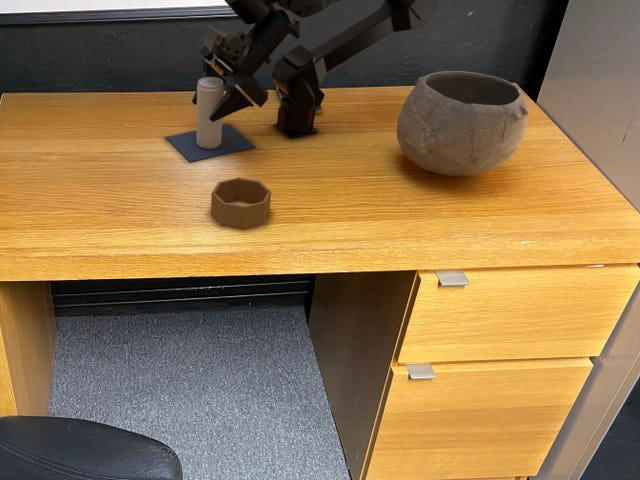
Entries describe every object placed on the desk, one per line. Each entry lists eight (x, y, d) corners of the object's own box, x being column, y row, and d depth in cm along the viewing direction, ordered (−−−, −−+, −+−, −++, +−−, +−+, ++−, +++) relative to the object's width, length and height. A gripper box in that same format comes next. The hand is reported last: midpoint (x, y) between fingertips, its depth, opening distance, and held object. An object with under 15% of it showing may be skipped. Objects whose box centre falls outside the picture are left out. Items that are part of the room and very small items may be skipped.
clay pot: (374, 143, 133) (391, 64, 123) (479, 138, 135) (504, 59, 124) (411, 199, 118) (433, 114, 108) (529, 193, 119) (562, 108, 109)
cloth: (228, 125, 139) (228, 123, 139) (255, 147, 132) (255, 146, 132) (165, 138, 135) (165, 136, 135) (189, 162, 128) (189, 161, 128)
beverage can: (207, 152, 130) (209, 89, 122) (190, 143, 133) (191, 81, 124) (226, 145, 132) (229, 82, 124) (209, 136, 135) (211, 74, 127)
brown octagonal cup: (250, 195, 119) (252, 173, 116) (277, 220, 113) (279, 198, 110) (203, 206, 116) (204, 185, 114) (228, 233, 111) (229, 211, 108)
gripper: (211, -5, 124) (154, 66, 128) (257, 27, 111) (193, 105, 116) (247, 35, 131) (193, 102, 136) (295, 70, 119) (233, 142, 123)
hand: (201, 111), depth 127 cm, fingers open, 8 cm apart
